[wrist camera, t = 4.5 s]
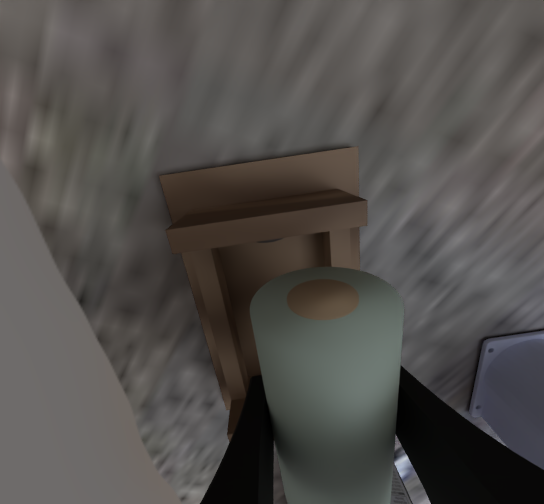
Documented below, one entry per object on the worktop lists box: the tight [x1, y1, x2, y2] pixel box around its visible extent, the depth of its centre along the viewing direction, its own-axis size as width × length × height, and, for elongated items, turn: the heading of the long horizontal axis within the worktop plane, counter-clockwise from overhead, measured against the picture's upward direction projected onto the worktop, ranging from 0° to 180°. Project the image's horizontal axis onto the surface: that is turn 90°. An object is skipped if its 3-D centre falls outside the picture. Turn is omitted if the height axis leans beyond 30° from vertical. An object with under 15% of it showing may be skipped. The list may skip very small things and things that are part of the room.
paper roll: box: [250, 267, 404, 504], centre depth 10 cm, size 10×5×5 cm, turn 8°
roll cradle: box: [159, 146, 367, 442], centre depth 17 cm, size 20×12×6 cm, turn 8°
